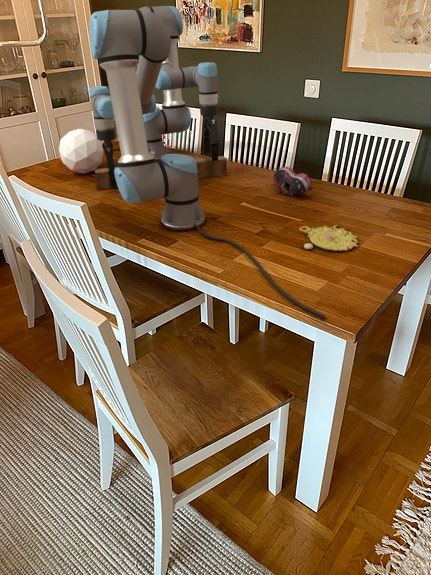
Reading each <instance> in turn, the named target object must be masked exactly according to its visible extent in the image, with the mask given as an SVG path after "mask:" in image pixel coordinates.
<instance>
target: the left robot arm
mask: <svg viewBox="0 0 431 575" xmlns="http://www.w3.org/2000/svg"><path fill="white" fill-rule="evenodd" d="M139 9H143V10H148V11H151V12H153V13H154V14H156V15H157V16H158V17H159V18H160V19H161V20H162V21H163V22H164V24H165V25H166V27H167V29H168V32H169V35H170V41H171V46H170V52H169V55H168V57H167V59H166V60H165V61H164V62H163V63H162V66H161V70H160V73H159V76H158V80H157V83H156V86H155V89H156V90H158V91H162V92H163V100H164V101H163V102H162V104H161V108H160V106H156V110H155V111H154V112H153V113H148V114H143V120H144V126H145V133H146V139H147V145H148V151H149V153H150V154H151V155H153V156H154V159H155V162H160V161H161V156H163V155H165V154H168V151H167V149H166V146H165V144H164V141H163V135H170V134H176V133H179V134H180V133H182V132H186V131H188V130H189V128H190V127H191V122H192V115H191V114H192V113H191V110H190V108H189V106H187V105H186V102H185V101H184V100H183V98H182V97H183V96H182V89H187V88H188V89H189V88H198V95H199V96H198V98H199V100H198V101H199V105H200V106H199V114H200V115H201V116H202V129H201V131H202V132H201V136H202V138H203V153H204V154H208V153H211V156H210V157H212V161H217V160H218V156H219V145H220V140H219V131H218V125H217V121H218V120H217V119H215V116H218V115H219V105H218V103H219V98H220V96H219V95H218V68H217V64H216V63H215V62H200V63H198V64H197V65H192V66H188V67H180V64H179V54H178V43H179V41H180V36H182V35H183V32H184V22H183V21H184V20H183V17H182V14H181V12H180V11H179V9H178V8H177V7H176V6H174V5H159V6H158V5H156V6H142V7H139ZM101 145H102V147H103V144H102V143H101ZM113 151H121V150H120V148H115V147H113Z"/></svg>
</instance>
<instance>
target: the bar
mask: <svg viewBox="0 0 431 575" xmlns="http://www.w3.org/2000/svg"><path fill="white" fill-rule="evenodd" d="M194 159H195V160H196V163H197V171H198V180H199V179H207V178H215V177H225V176H228V159H227V158H226V157H225V155H220V156H219V155H218V160H217V161H212V157H211V156H209V157H201V158H194ZM114 168H115V169H116V168H119V166H115V167H114ZM108 171H109V169H108V167H104V168H96V169H95V170H94V173H95V174H94V175H95V180H96V186H97V190H98V191H100V190H109V189H110V190H111V189H112V188H111V184H110V178H109V173H107V172H108ZM113 189H119V188H118V186H117V187H114V188H113Z"/></svg>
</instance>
